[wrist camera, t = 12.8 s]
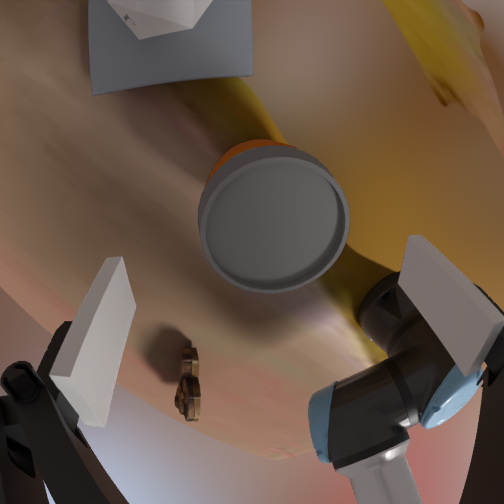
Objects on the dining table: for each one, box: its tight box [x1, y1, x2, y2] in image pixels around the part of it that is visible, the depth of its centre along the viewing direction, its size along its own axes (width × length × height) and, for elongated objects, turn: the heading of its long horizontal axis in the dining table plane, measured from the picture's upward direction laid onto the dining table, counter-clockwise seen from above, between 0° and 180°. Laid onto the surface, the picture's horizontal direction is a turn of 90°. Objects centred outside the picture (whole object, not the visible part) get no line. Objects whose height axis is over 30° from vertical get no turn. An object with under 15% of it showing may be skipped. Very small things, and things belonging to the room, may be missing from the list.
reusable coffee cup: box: [198, 139, 350, 294], centre depth 30 cm, size 13×13×15 cm
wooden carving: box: [175, 348, 201, 422], centre depth 49 cm, size 16×5×10 cm, turn 174°
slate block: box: [88, 0, 254, 96], centre depth 24 cm, size 16×16×6 cm
